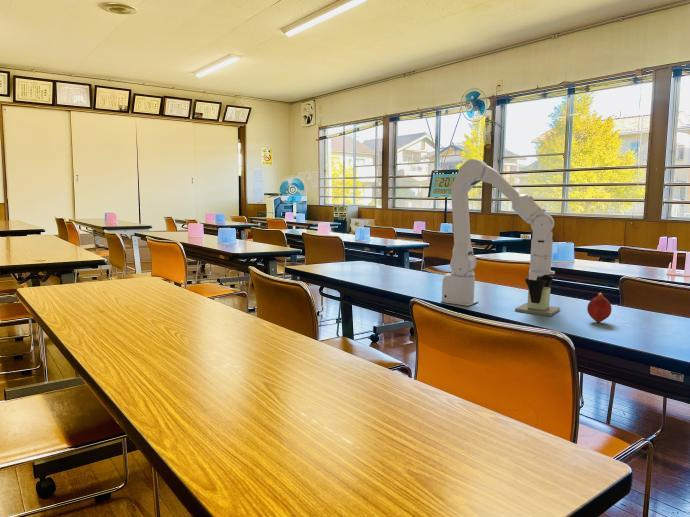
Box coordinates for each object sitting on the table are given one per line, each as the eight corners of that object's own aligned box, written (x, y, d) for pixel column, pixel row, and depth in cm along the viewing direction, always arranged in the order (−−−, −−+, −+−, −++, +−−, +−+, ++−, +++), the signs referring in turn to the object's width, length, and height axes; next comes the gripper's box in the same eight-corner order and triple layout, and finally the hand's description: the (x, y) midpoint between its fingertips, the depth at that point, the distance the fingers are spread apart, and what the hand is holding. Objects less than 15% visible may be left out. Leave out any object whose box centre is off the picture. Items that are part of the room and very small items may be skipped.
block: (527, 307, 148) (528, 287, 148) (531, 305, 153) (533, 285, 152) (544, 310, 146) (546, 289, 145) (549, 307, 150) (550, 287, 149)
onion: (613, 325, 133) (615, 295, 132) (589, 324, 134) (591, 294, 133) (606, 320, 138) (608, 291, 137) (584, 319, 139) (586, 290, 138)
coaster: (515, 311, 148) (515, 308, 148) (525, 305, 156) (525, 302, 156) (550, 316, 142) (550, 313, 142) (559, 310, 150) (560, 307, 150)
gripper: (548, 258, 139) (545, 307, 141) (562, 254, 151) (559, 299, 152) (522, 256, 143) (519, 303, 145) (537, 252, 155) (534, 296, 157)
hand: (538, 301), depth 149 cm, fingers closed on block, 5 cm apart
